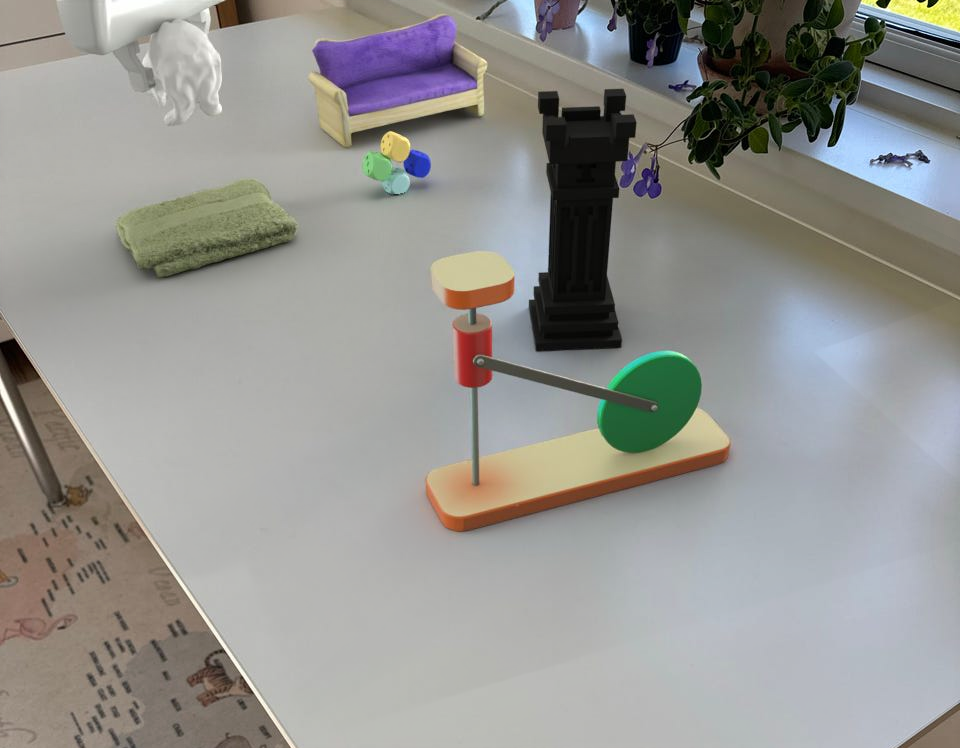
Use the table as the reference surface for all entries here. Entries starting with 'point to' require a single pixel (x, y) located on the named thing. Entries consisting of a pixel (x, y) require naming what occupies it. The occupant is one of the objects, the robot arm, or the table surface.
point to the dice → (398, 151)
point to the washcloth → (204, 227)
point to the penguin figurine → (184, 70)
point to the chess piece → (580, 223)
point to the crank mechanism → (574, 458)
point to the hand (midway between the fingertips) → (171, 75)
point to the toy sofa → (394, 77)
